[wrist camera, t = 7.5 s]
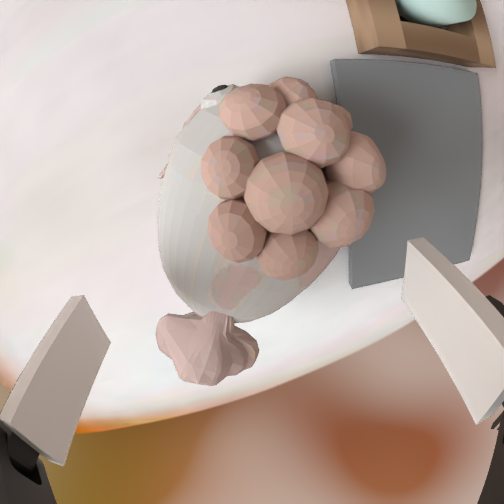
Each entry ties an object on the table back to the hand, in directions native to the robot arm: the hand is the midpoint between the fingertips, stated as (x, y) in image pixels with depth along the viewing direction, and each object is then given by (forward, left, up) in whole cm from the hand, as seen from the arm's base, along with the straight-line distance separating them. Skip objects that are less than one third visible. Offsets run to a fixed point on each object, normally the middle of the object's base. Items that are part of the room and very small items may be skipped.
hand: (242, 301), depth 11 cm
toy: (0, 0, -9) cm, 9 cm away
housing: (-14, +14, -9) cm, 22 cm away
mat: (-1, +13, -9) cm, 16 cm away
